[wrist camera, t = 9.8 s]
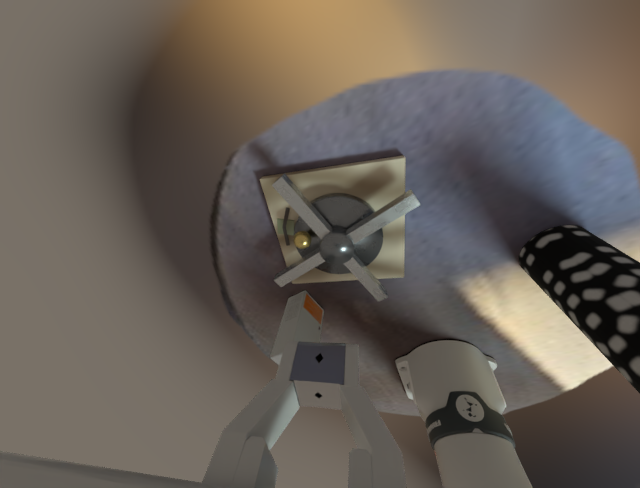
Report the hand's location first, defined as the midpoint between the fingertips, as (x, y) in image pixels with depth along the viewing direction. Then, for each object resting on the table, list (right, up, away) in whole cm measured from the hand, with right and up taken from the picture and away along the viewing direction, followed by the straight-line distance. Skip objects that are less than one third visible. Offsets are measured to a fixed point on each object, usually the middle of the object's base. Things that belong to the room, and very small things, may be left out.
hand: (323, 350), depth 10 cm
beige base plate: (+3, +7, +25) cm, 26 cm away
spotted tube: (+32, +4, +23) cm, 40 cm away
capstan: (+2, +6, +24) cm, 25 cm away
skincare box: (-3, -6, +34) cm, 35 cm away
